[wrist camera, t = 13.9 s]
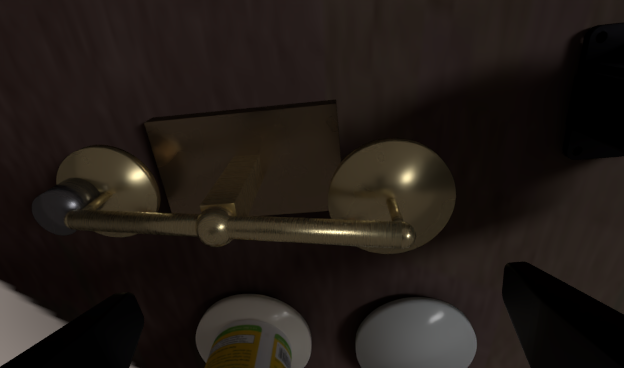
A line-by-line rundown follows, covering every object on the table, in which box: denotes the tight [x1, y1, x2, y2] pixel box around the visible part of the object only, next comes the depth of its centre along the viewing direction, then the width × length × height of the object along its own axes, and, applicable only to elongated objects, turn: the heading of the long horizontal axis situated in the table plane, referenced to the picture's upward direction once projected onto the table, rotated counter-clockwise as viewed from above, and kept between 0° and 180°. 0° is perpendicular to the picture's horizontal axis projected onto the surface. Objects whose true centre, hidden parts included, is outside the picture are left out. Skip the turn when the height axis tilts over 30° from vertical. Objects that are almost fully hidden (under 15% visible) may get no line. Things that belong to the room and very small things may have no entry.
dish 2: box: [355, 297, 477, 368], centre depth 25 cm, size 8×8×1 cm
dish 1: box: [196, 294, 312, 368], centre depth 25 cm, size 8×8×1 cm
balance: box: [32, 100, 456, 254], centre depth 16 cm, size 19×6×9 cm, turn 96°
